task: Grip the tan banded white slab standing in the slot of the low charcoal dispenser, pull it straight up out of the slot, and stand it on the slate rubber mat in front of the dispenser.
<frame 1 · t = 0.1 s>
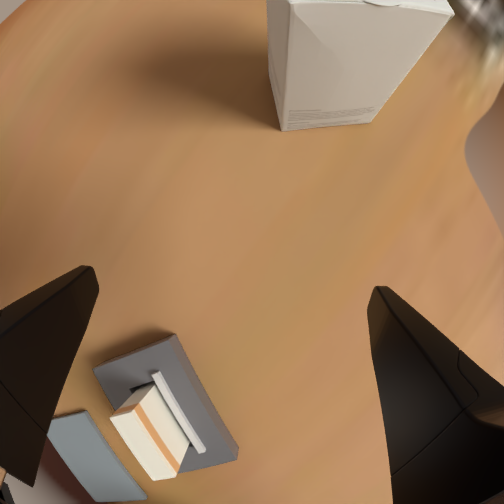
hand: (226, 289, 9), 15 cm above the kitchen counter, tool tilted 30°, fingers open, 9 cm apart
dispenser: (168, 408, 24), on the kitchen counter
mat: (91, 460, 25), on the kitchen counter
tan banded white slab: (167, 410, 24), resting on dispenser
skincare box: (318, 99, 24), on the kitchen counter
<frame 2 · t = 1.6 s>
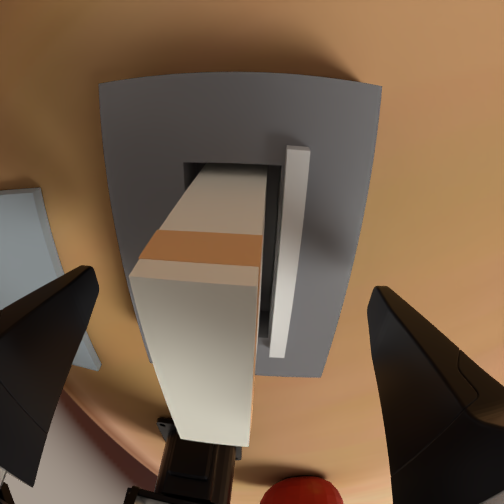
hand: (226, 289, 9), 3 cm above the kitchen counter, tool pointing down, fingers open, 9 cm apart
dispenser: (238, 235, 12), on the kitchen counter
mat: (22, 285, 15), on the kitchen counter
tan banded white slab: (236, 240, 12), resting on dispenser
fruit: (300, 479, 28), on the kitchen counter
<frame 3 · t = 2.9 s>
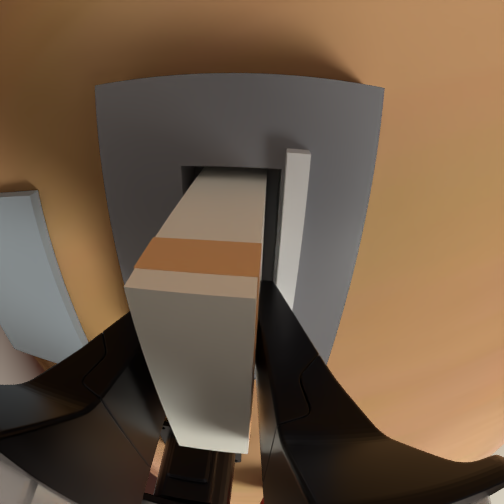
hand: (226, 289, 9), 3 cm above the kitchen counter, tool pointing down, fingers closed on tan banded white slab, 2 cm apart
dispenser: (237, 239, 12), on the kitchen counter
mat: (20, 287, 15), on the kitchen counter
tan banded white slab: (236, 244, 11), resting on dispenser, touching gripper
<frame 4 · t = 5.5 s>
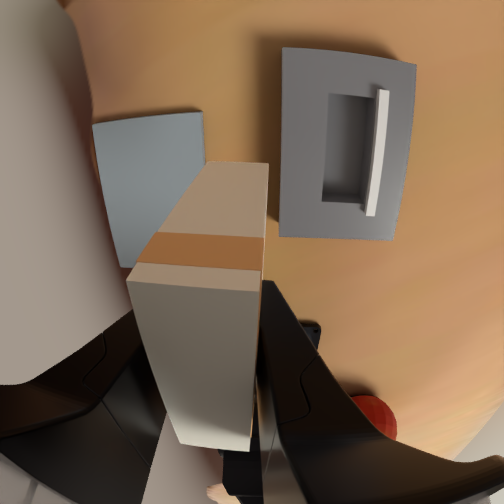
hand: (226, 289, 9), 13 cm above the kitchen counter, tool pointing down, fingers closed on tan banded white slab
dispenser: (341, 143, 19), on the kitchen counter
mat: (154, 196, 22), on the kitchen counter
tan banded white slab: (237, 241, 11), point 10 cm above the kitchen counter, touching gripper
fruit: (354, 403, 35), on the kitchen counter
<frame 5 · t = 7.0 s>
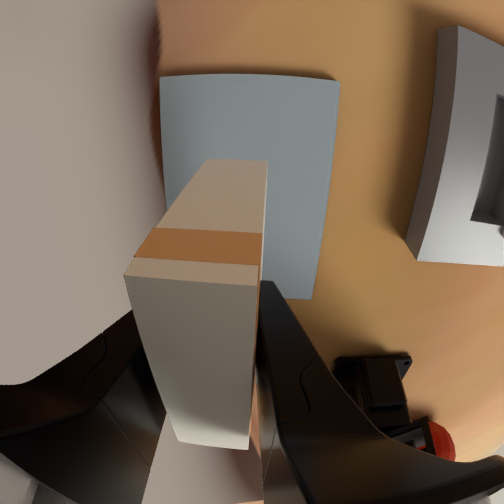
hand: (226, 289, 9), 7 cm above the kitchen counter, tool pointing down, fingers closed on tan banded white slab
dispenser: (484, 152, 13), on the kitchen counter
mat: (245, 194, 16), on the kitchen counter
tan banded white slab: (236, 239, 11), point 5 cm above the kitchen counter, touching gripper
fruit: (409, 428, 29), on the kitchen counter
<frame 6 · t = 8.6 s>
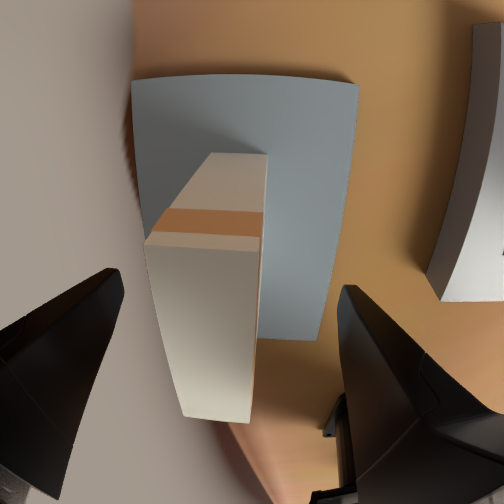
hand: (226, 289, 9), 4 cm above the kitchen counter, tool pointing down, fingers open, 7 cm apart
mat: (240, 224, 13), on the kitchen counter
tan banded white slab: (238, 228, 12), point 1 cm above the kitchen counter, touching mat
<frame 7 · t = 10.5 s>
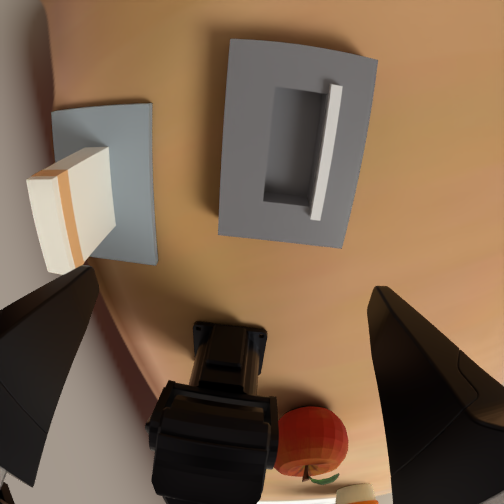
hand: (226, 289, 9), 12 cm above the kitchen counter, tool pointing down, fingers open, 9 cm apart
dispenser: (292, 141, 18), on the kitchen counter
mat: (104, 186, 21), on the kitchen counter
tan banded white slab: (99, 187, 20), point 1 cm above the kitchen counter, touching mat
reusable coffee cup: (354, 487, 57), on the kitchen counter
fruit: (306, 413, 35), on the kitchen counter
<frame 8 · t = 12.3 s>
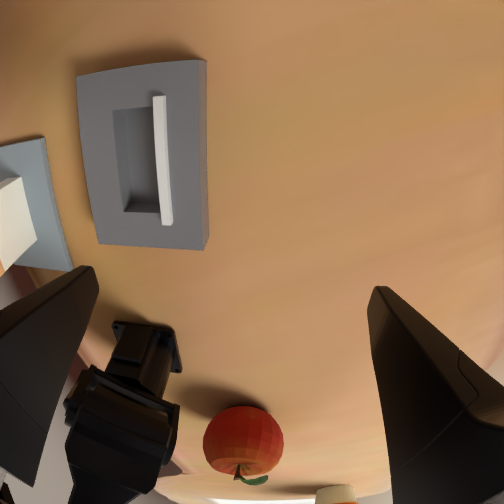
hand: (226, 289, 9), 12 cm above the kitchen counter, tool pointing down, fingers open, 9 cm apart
dispenser: (148, 154, 19), on the kitchen counter
mat: (26, 207, 22), on the kitchen counter
tan banded white slab: (21, 209, 21), point 1 cm above the kitchen counter, touching mat
reusable coffee cup: (334, 488, 57), on the kitchen counter
fruit: (246, 412, 36), on the kitchen counter
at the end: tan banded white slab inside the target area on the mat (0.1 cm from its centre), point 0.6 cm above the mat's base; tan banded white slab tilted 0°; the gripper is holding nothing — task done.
